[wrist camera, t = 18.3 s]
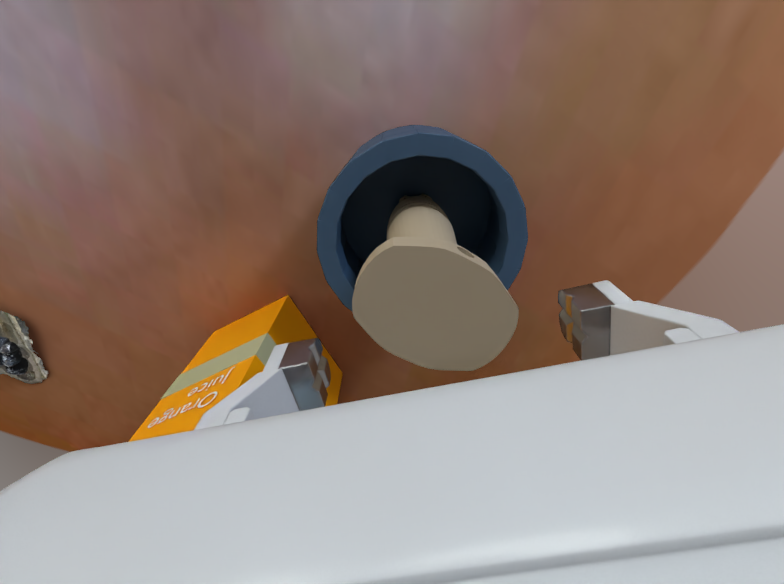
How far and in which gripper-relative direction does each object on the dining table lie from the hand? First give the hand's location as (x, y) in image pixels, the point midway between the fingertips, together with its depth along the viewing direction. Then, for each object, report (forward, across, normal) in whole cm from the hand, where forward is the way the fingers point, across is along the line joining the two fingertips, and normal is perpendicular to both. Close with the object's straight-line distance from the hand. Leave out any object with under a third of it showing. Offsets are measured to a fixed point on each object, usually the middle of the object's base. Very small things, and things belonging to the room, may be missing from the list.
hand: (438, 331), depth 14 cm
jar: (+18, 0, 0) cm, 18 cm away
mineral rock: (+18, +36, +4) cm, 40 cm away
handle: (+17, 0, 0) cm, 17 cm away
